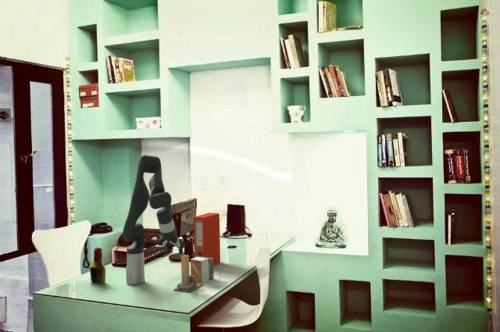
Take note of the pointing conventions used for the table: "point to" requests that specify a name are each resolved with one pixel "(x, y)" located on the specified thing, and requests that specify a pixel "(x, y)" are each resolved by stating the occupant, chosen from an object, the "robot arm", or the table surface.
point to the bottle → (97, 267)
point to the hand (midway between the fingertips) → (173, 252)
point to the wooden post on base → (186, 274)
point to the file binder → (207, 236)
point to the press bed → (211, 277)
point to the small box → (200, 269)
